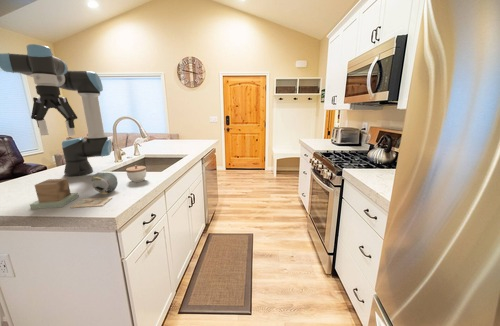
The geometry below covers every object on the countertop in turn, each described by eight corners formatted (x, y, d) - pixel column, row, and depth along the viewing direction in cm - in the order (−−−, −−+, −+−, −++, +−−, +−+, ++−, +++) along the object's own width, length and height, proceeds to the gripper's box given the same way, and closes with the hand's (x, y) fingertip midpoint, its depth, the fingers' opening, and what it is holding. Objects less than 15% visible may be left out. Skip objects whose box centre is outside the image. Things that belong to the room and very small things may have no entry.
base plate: (51, 197, 105) (50, 194, 104) (78, 196, 106) (77, 192, 106) (30, 208, 93) (29, 204, 93) (61, 207, 95) (60, 202, 94)
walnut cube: (52, 195, 103) (48, 179, 101) (70, 194, 104) (67, 178, 102) (38, 202, 95) (34, 185, 93) (59, 201, 96) (55, 184, 94)
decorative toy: (97, 182, 118) (73, 189, 98) (107, 167, 118) (85, 170, 98) (116, 193, 120) (97, 202, 100) (126, 178, 120) (109, 183, 100)
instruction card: (83, 199, 103) (82, 198, 102) (112, 198, 104) (112, 197, 104) (70, 208, 94) (70, 206, 94) (102, 206, 96) (102, 205, 95)
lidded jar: (135, 177, 136) (133, 163, 134) (151, 178, 134) (149, 163, 132) (123, 183, 126) (121, 167, 123) (140, 183, 124) (138, 168, 122)
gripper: (11, 85, 90) (24, 135, 95) (65, 84, 87) (75, 136, 92) (31, 86, 97) (42, 133, 102) (81, 86, 94) (90, 134, 99)
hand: (58, 135), depth 97 cm, fingers open, 13 cm apart
